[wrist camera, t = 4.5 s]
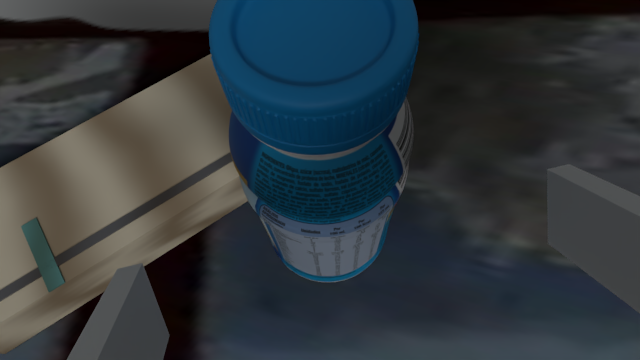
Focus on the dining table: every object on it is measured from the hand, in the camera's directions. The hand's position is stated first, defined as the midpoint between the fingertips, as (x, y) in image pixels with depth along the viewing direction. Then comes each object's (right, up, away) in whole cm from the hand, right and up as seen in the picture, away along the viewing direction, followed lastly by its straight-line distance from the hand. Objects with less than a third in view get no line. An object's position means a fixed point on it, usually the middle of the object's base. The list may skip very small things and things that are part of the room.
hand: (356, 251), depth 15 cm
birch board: (-13, +2, +20) cm, 24 cm away
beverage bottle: (-1, -1, +18) cm, 18 cm away
